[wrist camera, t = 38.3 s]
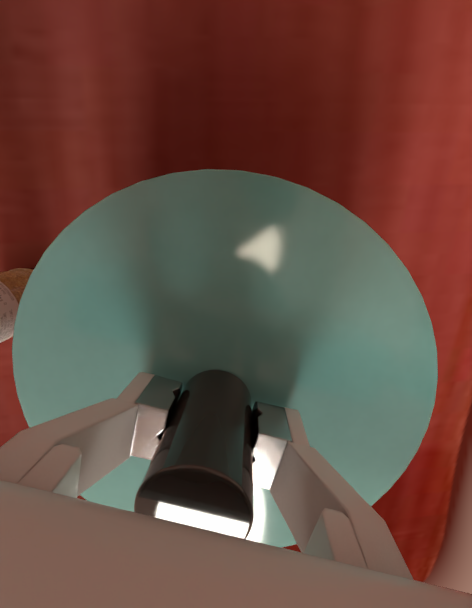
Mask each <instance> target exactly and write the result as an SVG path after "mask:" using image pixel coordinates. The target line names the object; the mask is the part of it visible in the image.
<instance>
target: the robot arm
mask: <svg viewBox="0 0 472 608" xmlns="http://www.w3.org/2000/svg"><path fill="white" fill-rule="evenodd" d="M182 387H183V382H179V381H176V380H172V379H168V378H164V377H161V376H157V375H154V374H149V373H145V372H139V373H138V374H137V375H136V377H135V378H134V379H133V380H132V381H131V382H130V383H129V385H128V386H127V387H126V388H125V389H124V390H123V392H122V393H121V394H120V395H119V396H118V397H117V399H114V398H110V399H108V400H105V401H102V402H99V403H97V404H94V405H91V406H88V407H86V408H83V409H80V410H77V411H75V412H72V413H69V414H66V415H64V416H61V417H58V418H55V419H53V420H50V421H47V422H44V423H42V424H39V425H36V426H33V427H31V428H28V429H25V430H22V431H20V432H19V433H18V434H16V435H15V436H14V437H13V438H11V439H10V440H9V441H8V442H6V443H5V444H4V445H3V446H2V447H0V608H472V594H469V593H465V592H461V591H457V590H453V589H449V588H444V587H440V586H436V585H432V584H428V583H424V582H420V581H416V580H413V578H412V576H411V574H410V572H409V570H408V568H407V566H406V564H405V561H404V559H403V557H402V555H401V553H400V551H399V549H398V547H397V545H396V543H395V541H394V539H393V537H392V535H391V533H390V531H389V529H388V527H387V525H386V523H385V521H384V520H383V519H382V518H381V517H380V516H379V515H378V514H377V513H376V511H375V510H374V509H373V508H372V507H371V506H370V505H369V504H368V503H367V502H366V501H365V500H364V499H363V498H362V497H361V496H360V495H359V494H358V493H357V492H356V491H355V490H354V489H353V488H352V486H351V485H350V484H349V483H348V482H347V481H346V480H345V479H344V478H343V477H342V476H341V475H340V474H339V473H338V472H337V471H336V470H335V469H334V468H333V467H332V466H331V465H330V464H329V463H328V461H327V460H326V459H325V458H324V457H323V456H322V455H321V454H320V453H319V452H318V451H317V450H316V449H315V448H312V447H310V445H309V442H308V438H307V435H306V432H305V429H304V426H303V422H302V419H301V416H300V413H299V411H298V410H295V409H290V408H286V407H280V406H275V405H271V404H267V403H262V402H258V401H255V403H254V406H253V409H252V445H253V485H254V486H258V487H261V488H265V489H268V490H270V493H271V495H272V497H273V498H274V500H275V502H276V504H277V506H278V508H279V510H280V512H281V514H282V516H283V518H284V520H285V521H286V523H287V525H288V527H289V529H290V531H291V533H292V535H293V537H294V539H295V541H296V543H297V544H298V546H299V548H300V550H301V552H302V553H300V552H296V551H292V550H288V549H284V548H280V547H276V546H272V545H267V544H263V543H259V542H255V541H251V540H247V539H243V538H239V537H235V536H230V535H226V534H222V533H218V532H214V531H210V530H206V529H201V528H197V527H193V526H189V525H185V524H181V523H177V522H173V521H168V520H164V519H160V518H156V517H152V516H148V515H144V514H140V513H135V512H131V511H127V510H123V509H119V508H115V507H111V506H107V505H102V504H98V503H94V502H90V501H86V500H82V499H78V498H77V496H79V495H80V494H81V493H83V492H84V491H85V490H87V489H88V488H89V487H91V486H92V485H93V484H95V483H96V482H97V481H99V480H100V479H101V478H103V477H104V476H105V475H107V474H108V473H110V472H111V471H112V470H114V469H115V468H116V467H118V466H119V465H120V464H122V463H123V462H124V461H126V460H127V459H128V458H130V456H134V457H138V458H143V459H148V460H151V459H152V457H153V455H154V453H155V451H156V448H157V446H158V444H159V442H160V440H161V437H162V435H163V433H164V431H165V428H166V426H167V424H168V422H169V420H170V417H171V415H172V413H173V411H174V408H175V406H176V404H177V402H178V399H179V397H180V395H181V392H182Z"/></svg>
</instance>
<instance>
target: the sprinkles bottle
mask: <svg viewBox="0 0 472 608" xmlns="http://www.w3.org/2000/svg"><path fill="white" fill-rule="evenodd" d="M32 272H33V270H32V269H27V268H16V269H13V270H10V271H6V272H0V342H3V341H5V340H7V339H9V338H11V337H13V333H14V323H15V319H16V315H17V311H18V307H19V303H20V299H21V297H22V294H23V292H24V289H25V287H26V284H27V282H28V280H29V277H30V275H31V273H32Z"/></svg>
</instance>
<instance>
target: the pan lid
mask: <svg viewBox="0 0 472 608" xmlns="http://www.w3.org/2000/svg"><path fill="white" fill-rule="evenodd" d="M12 357H13V374H14V379H15V384H16V389H17V395H18V399H19V402H20V405H21V408H22V411H23V413H24V416H25V419H26V422H27V424H28V426H29V428H31V427H33V426H36V425H39V424H42V423H44V422H47V421H50V420H53V419H55V418H58V417H61V416H64V415H66V414H69V413H72V412H75V411H77V410H80V409H83V408H86V407H88V406H91V405H94V404H97V403H99V402H102V401H105V400H108V399H110V398H114V399H117V397H118V396H119V395H120V394H121V393H122V392H123V390H124V389H125V388H126V387H127V386H128V385H129V383H130V382H131V381H132V380H133V379H134V378H135V377H136V375H137V374H138V373H139V372H145V373H149V374H154V375H157V376H161V377H164V378H168V379H172V380H176V381H179V382H183V387H182V392H181V395H180V397H179V399H178V402H177V404H176V406H175V408H174V411H173V413H172V415H171V417H170V420H169V422H168V424H167V426H166V428H165V431H164V433H163V435H162V437H161V440H160V442H159V444H158V446H157V448H156V451H155V453H154V455H153V457H152V459H151V460H148V459H143V458H138V457H134V456H130V458H128V459H127V460H126V461H124V462H123V463H122V464H120V465H119V466H118V467H116V468H115V469H114V470H112V471H111V472H110V473H108V474H107V475H105V476H104V477H103V478H101V479H100V480H99V481H97V482H96V483H95V484H93V485H92V486H91V487H89V488H88V489H87V490H85V491H84V492H83V493H81V494H80V495H81V496H82V497H83V498H85V499H86V500H87V501H90V502H94V503H98V504H102V505H107V506H111V507H115V508H119V509H123V510H127V511H131V512H135V513H140V514H144V515H148V516H152V517H156V518H160V519H164V520H168V521H173V522H177V523H181V524H185V525H189V526H193V527H197V528H201V529H206V530H210V531H214V532H218V533H222V534H226V535H230V536H235V537H239V538H243V539H247V540H251V541H255V542H259V543H263V544H267V545H272V546H276V547H280V548H281V547H286V546H291V545H294V544H297V543H296V541H295V539H294V537H293V535H292V533H291V531H290V529H289V527H288V525H287V523H286V521H285V520H284V518H283V516H282V514H281V512H280V510H279V508H278V506H277V504H276V502H275V500H274V498H273V497H272V495H271V493H270V490H268V489H265V488H261V487H258V486H254V485H253V445H252V409H253V406H254V403H255V401H258V402H262V403H267V404H271V405H275V406H280V407H286V408H290V409H295V410H298V411H299V413H300V416H301V419H302V422H303V426H304V429H305V432H306V435H307V438H308V442H309V445H310V447H312V448H315V449H316V450H317V451H318V452H319V453H320V454H321V455H322V456H323V457H324V458H325V459H326V460H327V461H328V463H329V464H330V465H331V466H332V467H333V468H334V469H335V470H336V471H337V472H338V473H339V474H340V475H341V476H342V477H343V478H344V479H345V480H346V481H347V482H348V483H349V484H350V485H351V486H352V488H353V489H354V490H355V491H356V492H357V493H358V494H359V495H360V496H361V497H362V498H363V499H364V500H365V501H366V502H367V503H368V504H369V505H370V506H372V505H373V504H374V503H375V502H376V501H377V500H378V499H379V498H380V497H382V496H383V495H384V494H385V493H386V492H387V491H388V490H389V489H390V488H391V487H392V486H393V484H394V483H395V482H396V481H397V480H398V478H399V477H400V476H401V475H402V474H403V472H404V471H405V470H406V468H407V467H408V465H409V463H410V462H411V460H412V459H413V457H414V455H415V454H416V452H417V451H418V449H419V446H420V444H421V442H422V440H423V437H424V435H425V433H426V431H427V428H428V425H429V422H430V418H431V414H432V411H433V407H434V404H435V396H436V388H437V380H438V368H437V348H436V343H435V338H434V332H433V327H432V323H431V320H430V317H429V314H428V311H427V309H426V306H425V303H424V300H423V297H422V295H421V293H420V292H419V290H418V288H417V286H416V284H415V282H414V281H413V279H412V277H411V275H410V273H409V271H408V270H407V268H406V267H405V266H404V264H403V263H402V262H401V260H400V259H399V258H398V257H397V255H396V254H395V253H394V251H393V250H392V249H391V247H390V246H389V245H388V244H387V243H386V242H385V241H384V240H383V239H382V238H381V237H380V236H379V235H378V234H377V233H376V232H375V231H374V230H373V229H372V228H371V227H370V226H369V225H367V224H366V223H365V222H364V221H363V220H361V219H360V218H358V217H357V216H356V215H354V214H353V213H351V212H350V211H349V210H347V209H346V208H344V207H343V206H342V205H340V204H339V203H337V202H335V201H333V200H331V199H329V198H327V197H325V196H323V195H321V194H319V193H317V192H315V191H314V190H312V189H310V188H308V187H305V186H302V185H299V184H296V183H293V182H290V181H287V180H284V179H281V178H278V177H275V176H269V175H264V174H258V173H253V172H248V171H242V170H218V169H203V170H194V171H185V172H176V173H171V174H167V175H163V176H159V177H155V178H151V179H148V180H144V181H141V182H138V183H136V184H134V185H131V186H129V187H127V188H124V189H122V190H120V191H117V192H115V193H113V194H111V195H109V196H108V197H106V198H105V199H103V200H101V201H100V202H98V203H96V204H95V205H93V206H92V207H90V208H88V209H87V210H85V211H84V212H83V213H82V214H81V215H80V216H78V217H77V218H76V219H75V220H74V221H73V222H71V223H70V224H69V225H68V226H67V227H66V228H65V229H63V230H62V232H61V233H60V234H59V235H58V236H57V238H56V239H55V240H54V241H53V242H52V243H51V245H50V246H49V247H48V248H47V249H46V251H45V252H44V253H43V255H42V257H41V258H40V260H39V262H38V263H37V265H36V267H35V268H34V270H33V272H32V273H31V275H30V277H29V280H28V282H27V284H26V287H25V289H24V292H23V294H22V297H21V299H20V303H19V307H18V311H17V315H16V319H15V323H14V333H13V344H12Z"/></svg>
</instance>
